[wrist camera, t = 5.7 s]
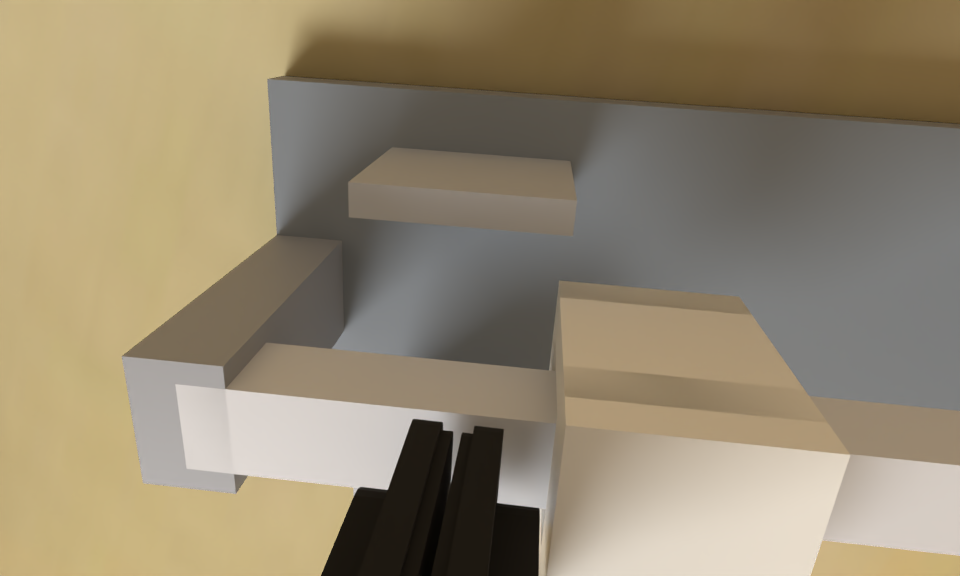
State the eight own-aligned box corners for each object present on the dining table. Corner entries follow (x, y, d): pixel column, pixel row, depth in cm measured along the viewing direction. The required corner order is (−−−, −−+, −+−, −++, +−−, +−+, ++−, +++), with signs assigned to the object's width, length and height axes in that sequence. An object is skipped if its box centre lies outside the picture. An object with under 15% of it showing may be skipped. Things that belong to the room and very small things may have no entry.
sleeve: (559, 280, 15) (565, 426, 9) (738, 296, 15) (849, 454, 9) (539, 461, 17) (535, 668, 11) (697, 479, 16) (769, 698, 11)
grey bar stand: (283, 76, 19) (38, 124, 10) (1314, 149, 17) (2192, 292, 8) (301, 422, 24) (144, 677, 14) (1119, 509, 22) (1539, 865, 13)
